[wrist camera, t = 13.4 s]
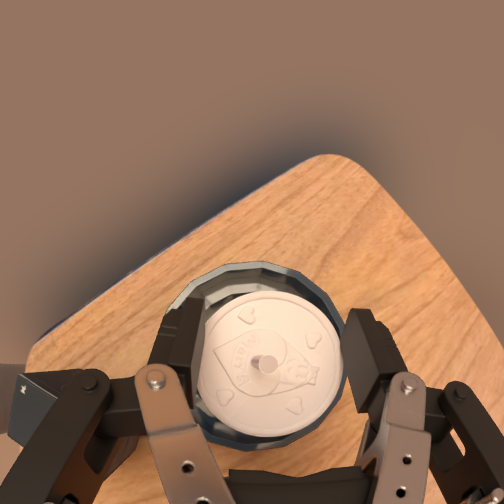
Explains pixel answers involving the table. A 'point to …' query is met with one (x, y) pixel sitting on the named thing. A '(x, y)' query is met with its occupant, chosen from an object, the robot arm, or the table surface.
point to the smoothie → (269, 364)
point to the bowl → (229, 288)
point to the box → (47, 408)
